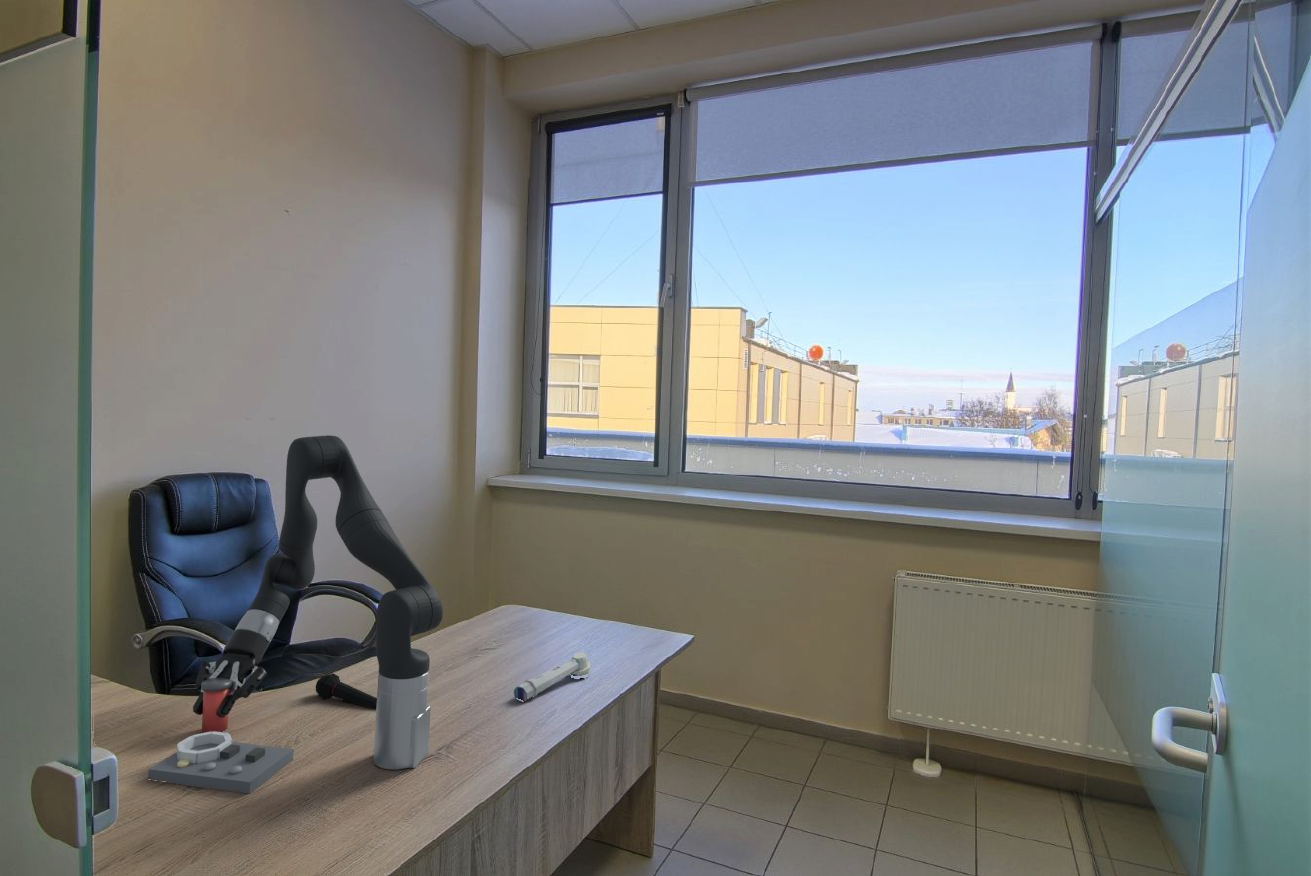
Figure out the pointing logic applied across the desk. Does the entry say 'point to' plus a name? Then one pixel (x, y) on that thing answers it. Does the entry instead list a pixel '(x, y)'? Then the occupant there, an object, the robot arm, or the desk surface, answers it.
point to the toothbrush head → (553, 676)
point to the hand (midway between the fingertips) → (208, 714)
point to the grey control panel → (220, 763)
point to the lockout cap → (214, 703)
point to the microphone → (343, 691)
